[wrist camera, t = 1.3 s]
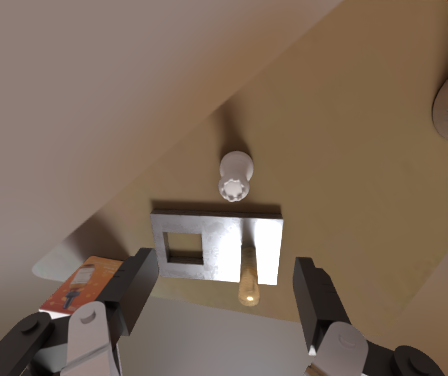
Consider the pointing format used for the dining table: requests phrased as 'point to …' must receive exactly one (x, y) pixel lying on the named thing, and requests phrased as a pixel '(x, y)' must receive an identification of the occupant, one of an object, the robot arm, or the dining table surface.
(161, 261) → the bolt plate
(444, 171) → the dining table surface
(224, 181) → the rook chess piece
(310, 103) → the dining table surface
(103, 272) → the small box
